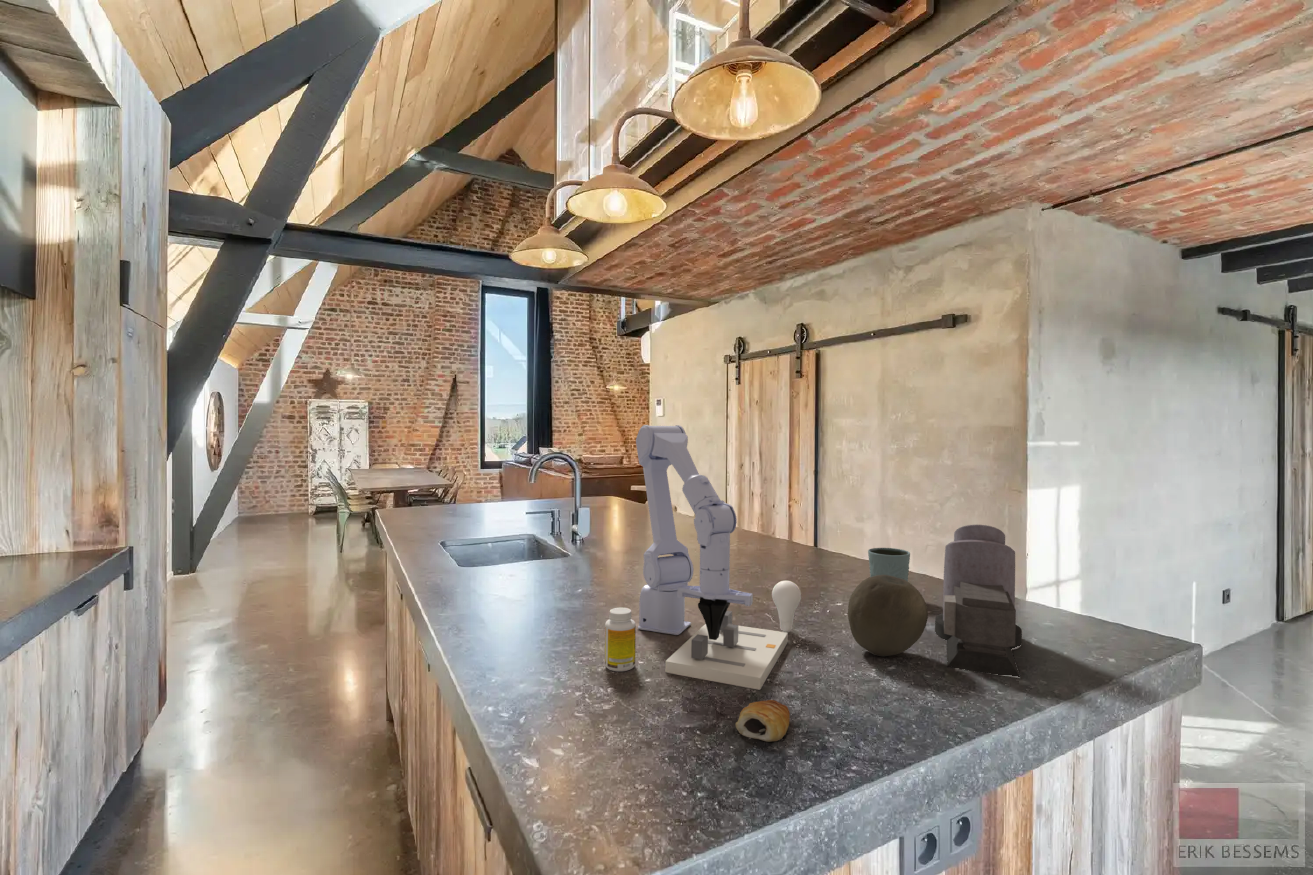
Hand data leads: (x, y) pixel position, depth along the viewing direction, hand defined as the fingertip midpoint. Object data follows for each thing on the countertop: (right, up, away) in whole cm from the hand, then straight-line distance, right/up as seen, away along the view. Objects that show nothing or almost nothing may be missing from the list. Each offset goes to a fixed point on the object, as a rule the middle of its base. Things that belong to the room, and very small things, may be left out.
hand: (713, 637), depth 114 cm
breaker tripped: (+3, -1, -1) cm, 3 cm away
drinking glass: (+49, -3, +40) cm, 63 cm away
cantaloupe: (+33, -4, +1) cm, 34 cm away
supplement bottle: (-18, -3, -6) cm, 19 cm away
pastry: (+5, -4, -28) cm, 29 cm away
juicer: (+54, -4, +6) cm, 54 cm away
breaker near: (-3, -1, -7) cm, 8 cm away
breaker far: (+3, -1, +7) cm, 8 cm away
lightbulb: (+17, -3, +13) cm, 21 cm away
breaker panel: (+3, -3, -1) cm, 4 cm away
